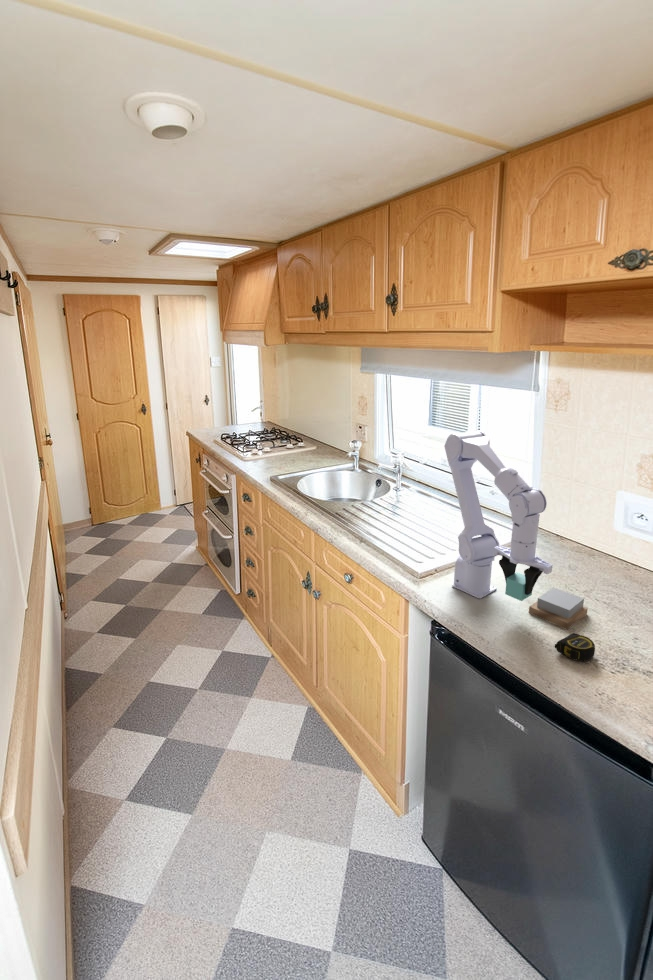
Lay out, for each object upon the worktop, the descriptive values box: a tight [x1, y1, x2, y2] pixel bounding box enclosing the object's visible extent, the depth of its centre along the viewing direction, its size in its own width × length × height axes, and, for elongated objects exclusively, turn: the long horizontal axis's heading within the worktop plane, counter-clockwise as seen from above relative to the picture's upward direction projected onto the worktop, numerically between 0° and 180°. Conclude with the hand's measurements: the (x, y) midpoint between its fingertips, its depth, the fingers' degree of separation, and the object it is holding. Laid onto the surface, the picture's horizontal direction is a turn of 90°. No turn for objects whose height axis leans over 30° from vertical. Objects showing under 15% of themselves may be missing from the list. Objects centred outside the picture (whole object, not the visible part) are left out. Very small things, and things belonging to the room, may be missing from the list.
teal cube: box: [505, 572, 533, 602], centre depth 129 cm, size 4×4×4 cm
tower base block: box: [528, 600, 589, 630], centre depth 132 cm, size 10×10×2 cm
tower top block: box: [536, 587, 585, 619], centre depth 131 cm, size 8×8×2 cm
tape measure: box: [553, 632, 596, 662], centre depth 116 cm, size 7×7×4 cm
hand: (518, 589), depth 129 cm, fingers closed on teal cube, 4 cm apart
